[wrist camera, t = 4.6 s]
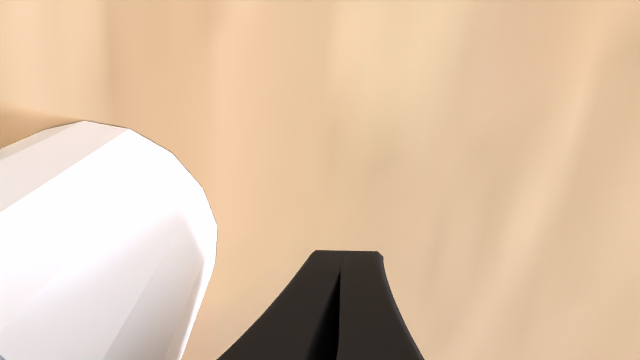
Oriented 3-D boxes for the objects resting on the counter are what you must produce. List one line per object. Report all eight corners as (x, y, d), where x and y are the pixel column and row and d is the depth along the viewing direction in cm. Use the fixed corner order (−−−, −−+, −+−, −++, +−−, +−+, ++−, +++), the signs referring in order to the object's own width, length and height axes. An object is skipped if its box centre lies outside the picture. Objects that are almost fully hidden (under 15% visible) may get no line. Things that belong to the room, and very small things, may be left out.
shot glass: (84, 356, 16) (-112, 635, 10) (-73, 158, 14) (-459, 360, 8) (289, 290, 14) (204, 586, 8) (146, 46, 12) (-135, 194, 6)
